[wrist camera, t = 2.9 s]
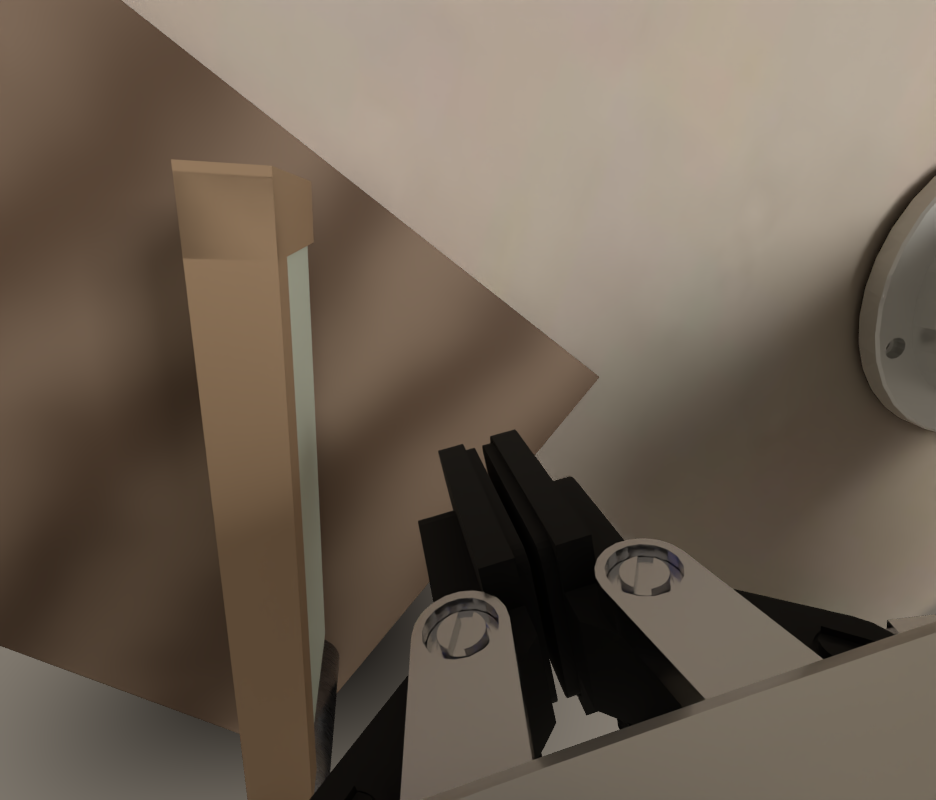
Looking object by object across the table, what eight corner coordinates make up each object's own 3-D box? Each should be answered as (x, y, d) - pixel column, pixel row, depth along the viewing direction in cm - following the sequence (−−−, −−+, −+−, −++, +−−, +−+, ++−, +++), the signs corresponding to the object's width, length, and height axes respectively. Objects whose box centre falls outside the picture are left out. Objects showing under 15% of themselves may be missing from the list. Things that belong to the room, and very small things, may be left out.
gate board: (593, 372, 21) (599, 377, 21) (290, 739, 25) (288, 751, 25) (-70, -150, 14) (-89, -165, 13) (-363, 494, 18) (-387, 503, 17)
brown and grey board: (330, 641, 22) (312, 807, 16) (285, 644, 22) (249, 815, 16) (311, 181, 17) (271, 165, 10) (249, 177, 16) (170, 158, 10)
